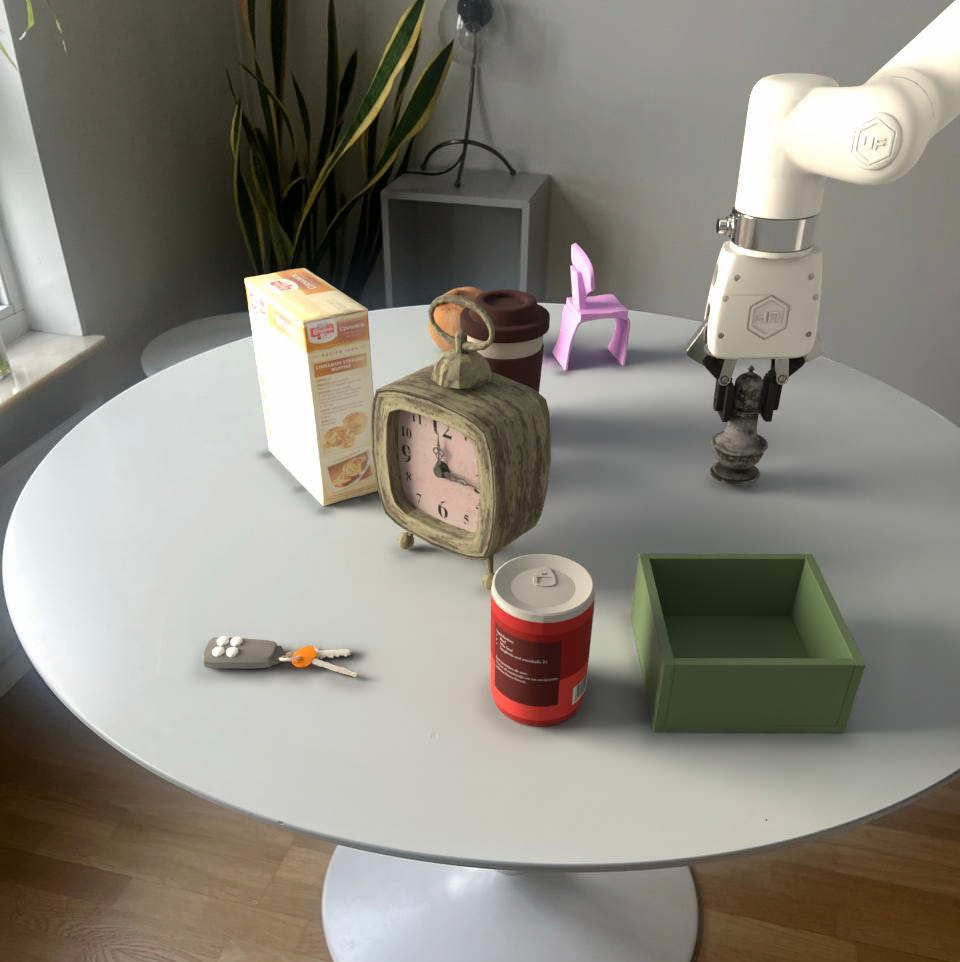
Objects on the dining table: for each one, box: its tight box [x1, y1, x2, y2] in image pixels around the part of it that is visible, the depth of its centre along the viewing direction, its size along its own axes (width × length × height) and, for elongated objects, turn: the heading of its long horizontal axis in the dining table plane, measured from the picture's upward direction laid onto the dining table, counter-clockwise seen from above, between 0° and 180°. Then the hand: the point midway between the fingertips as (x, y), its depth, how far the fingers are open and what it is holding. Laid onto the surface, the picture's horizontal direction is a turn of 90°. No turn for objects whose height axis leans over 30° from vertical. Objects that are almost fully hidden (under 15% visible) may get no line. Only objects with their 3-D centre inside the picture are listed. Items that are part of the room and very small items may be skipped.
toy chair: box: [552, 242, 631, 371], centre depth 126 cm, size 8×9×15 cm
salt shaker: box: [709, 364, 769, 486], centre depth 100 cm, size 6×6×12 cm
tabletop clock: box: [371, 293, 552, 591], centre depth 85 cm, size 14×9×25 cm, turn 50°
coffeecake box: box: [244, 267, 378, 507], centre depth 100 cm, size 15×7×20 cm, turn 32°
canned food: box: [489, 553, 596, 727], centre depth 74 cm, size 8×8×11 cm
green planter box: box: [630, 552, 866, 734], centre depth 77 cm, size 15×15×7 cm
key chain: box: [201, 635, 359, 678], centre depth 80 cm, size 13×4×2 cm, turn 87°
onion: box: [428, 286, 485, 353], centre depth 129 cm, size 10×9×10 cm
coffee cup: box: [460, 289, 551, 394], centre depth 110 cm, size 10×10×15 cm
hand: (744, 414), depth 100 cm, fingers closed on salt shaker, 3 cm apart
